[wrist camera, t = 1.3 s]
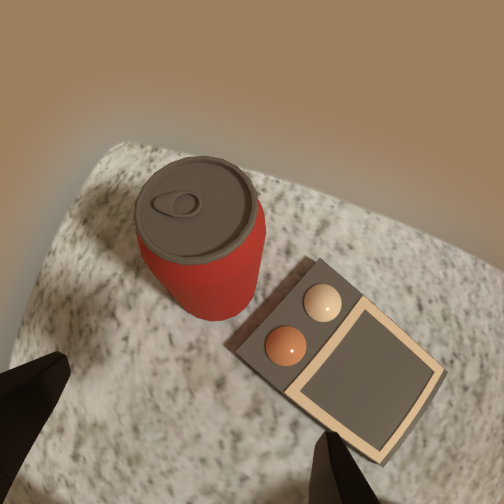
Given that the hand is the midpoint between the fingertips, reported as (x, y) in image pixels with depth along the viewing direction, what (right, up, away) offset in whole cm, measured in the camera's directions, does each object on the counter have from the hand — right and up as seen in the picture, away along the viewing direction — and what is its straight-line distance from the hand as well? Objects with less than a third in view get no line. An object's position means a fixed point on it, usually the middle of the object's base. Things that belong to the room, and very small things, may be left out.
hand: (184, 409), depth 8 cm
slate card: (+10, -4, +13) cm, 17 cm away
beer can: (-1, +2, +16) cm, 16 cm away
